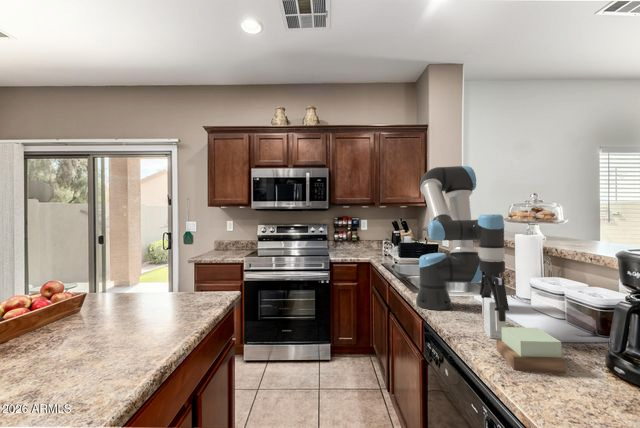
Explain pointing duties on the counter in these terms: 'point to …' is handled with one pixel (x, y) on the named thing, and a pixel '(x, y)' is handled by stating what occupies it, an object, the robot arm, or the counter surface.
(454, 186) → the robot arm
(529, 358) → the tower base
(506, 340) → the tower top
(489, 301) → the skincare box
